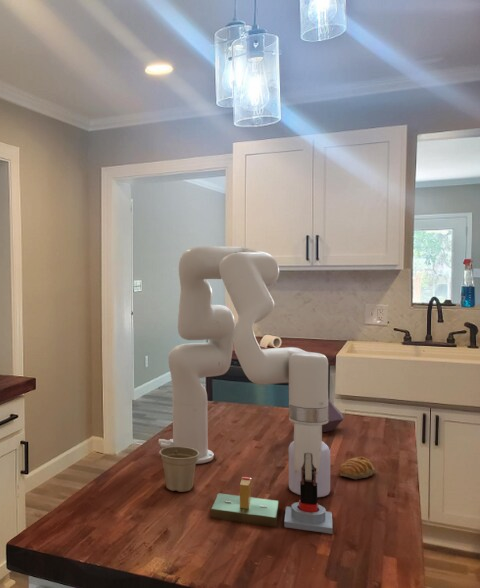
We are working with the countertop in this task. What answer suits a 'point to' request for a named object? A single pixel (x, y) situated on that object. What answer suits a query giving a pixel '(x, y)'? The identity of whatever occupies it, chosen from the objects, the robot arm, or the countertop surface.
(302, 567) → the countertop surface
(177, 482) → the flower pot
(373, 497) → the countertop surface
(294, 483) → the soap bottle
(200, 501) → the countertop surface
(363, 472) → the pastry
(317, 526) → the grey square piece
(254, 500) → the plate
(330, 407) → the flask
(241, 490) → the yellow bar
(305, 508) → the button
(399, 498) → the countertop surface
